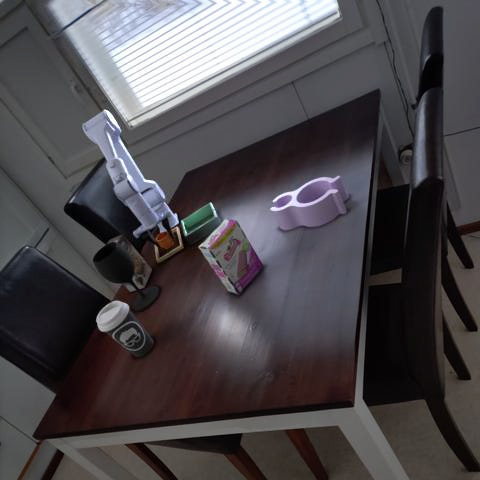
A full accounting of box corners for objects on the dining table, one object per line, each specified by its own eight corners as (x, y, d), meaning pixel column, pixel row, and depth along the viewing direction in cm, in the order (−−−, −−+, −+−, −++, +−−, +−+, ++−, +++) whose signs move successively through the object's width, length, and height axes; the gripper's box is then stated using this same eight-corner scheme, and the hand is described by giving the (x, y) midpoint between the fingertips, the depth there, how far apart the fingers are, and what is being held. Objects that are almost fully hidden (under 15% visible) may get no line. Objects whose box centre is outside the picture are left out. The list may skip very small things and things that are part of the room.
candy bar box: (240, 295, 119) (208, 249, 109) (228, 292, 123) (196, 247, 113) (265, 266, 122) (237, 219, 112) (253, 263, 126) (224, 217, 116)
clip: (277, 237, 129) (267, 218, 125) (285, 211, 137) (275, 192, 133) (345, 218, 119) (336, 197, 115) (349, 191, 127) (341, 170, 123)
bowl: (162, 246, 161) (155, 236, 159) (174, 238, 161) (167, 228, 158) (163, 253, 157) (156, 243, 154) (176, 245, 156) (168, 235, 154)
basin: (186, 230, 162) (180, 221, 159) (216, 211, 160) (210, 202, 157) (191, 246, 152) (184, 236, 149) (223, 226, 150) (217, 216, 147)
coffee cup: (163, 332, 125) (129, 295, 116) (149, 360, 120) (113, 324, 110) (138, 336, 130) (104, 301, 121) (124, 362, 125) (87, 328, 116)
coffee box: (145, 287, 148) (113, 251, 138) (130, 292, 151) (98, 257, 141) (153, 269, 154) (123, 233, 144) (138, 274, 157) (108, 239, 147)
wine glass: (136, 316, 138) (93, 269, 126) (129, 302, 146) (87, 257, 134) (163, 294, 139) (122, 246, 127) (154, 282, 147) (115, 235, 135)
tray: (156, 244, 166) (153, 241, 165) (179, 229, 164) (177, 226, 163) (159, 264, 154) (156, 261, 153) (184, 249, 153) (181, 245, 152)
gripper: (125, 228, 148) (149, 258, 156) (162, 204, 146) (185, 236, 154) (125, 219, 153) (148, 248, 161) (160, 196, 151) (182, 227, 159)
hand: (166, 242), depth 158 cm, fingers closed on bowl, 5 cm apart
